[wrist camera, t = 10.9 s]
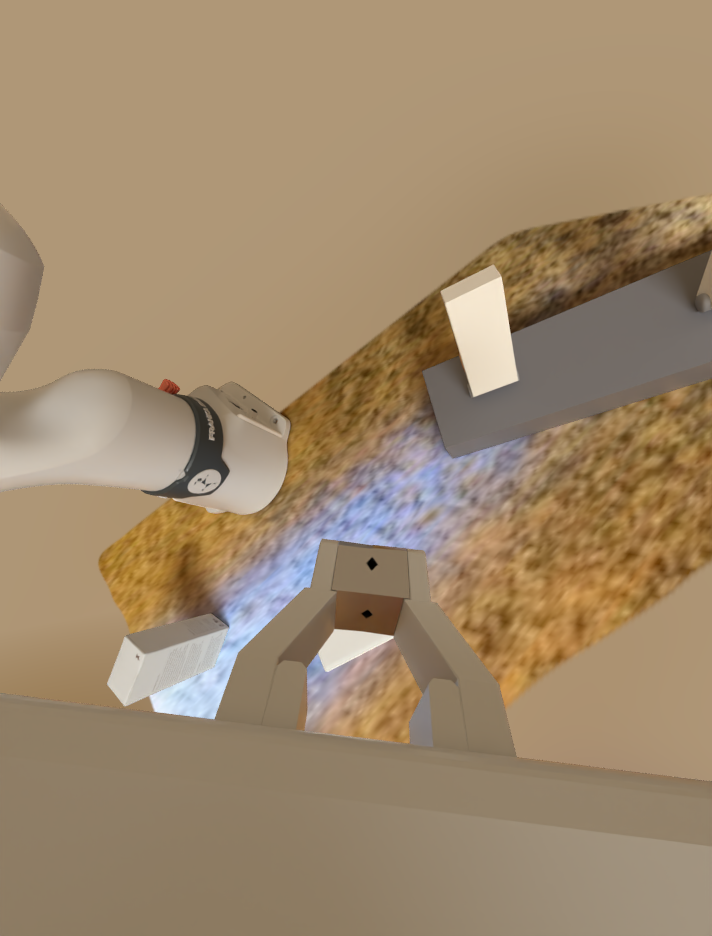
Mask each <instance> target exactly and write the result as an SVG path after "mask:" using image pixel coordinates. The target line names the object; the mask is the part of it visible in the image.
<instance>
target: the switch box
mask: <svg viewBox="0 0 712 936" xmlns="http://www.w3.org/2000/svg"><path fill="white" fill-rule="evenodd" d="M711 251H712V250H710V251H708V252H705V253H703V254H701V255H698V256H696V257H694V258H691V259H689V260H686V261H684V262H682V263H679V264H677V265H674V266H672V267H670V268H667V269H665V270H662V271H660V272H658V273H655V274H653V275H651V276H648V277H646V278H643V279H641V280H639V281H636V282H634V283H631V284H629V285H627V286H624V287H622V288H620V289H617V290H615V291H612V292H610V293H608V294H605V295H603V296H600V297H598V298H596V299H593V300H591V301H588V302H586V303H584V304H581V305H579V306H577V307H574V308H572V309H569V310H567V311H565V312H562V313H560V314H557V315H555V316H553V317H550V318H548V319H545V320H543V321H541V322H538V323H536V324H534V325H531V326H529V327H526V328H524V329H522V330H519V331H517V332H514V333H512V334H511V339H512V346H513V352H514V358H515V364H516V368H517V371H518V374H519V379H520V380H519V381H516V382H514V383H511V384H508V385H505V386H503V387H500V388H497V389H495V390H492V391H489V392H486V393H484V394H481V395H478V396H476V397H473V398H471V396H470V393H469V390H468V387H467V384H469V383H468V380H467V376H466V373H465V370H464V366H463V363H462V360H461V357H460V354H459V356H457V357H455V358H452V359H450V360H448V361H445V362H443V363H440V364H438V365H436V366H433V367H431V368H428V369H426V370H424V371H422V373H423V376H424V380H425V383H426V386H427V389H428V393H429V396H430V399H431V403H432V406H433V409H434V413H435V416H436V419H437V423H438V426H439V429H440V433H441V436H442V439H443V443H444V446H445V449H446V450H447V451H448V453H449V454H450V455H451V457H452V458H457V457H460V456H463V455H466V454H470V453H473V452H476V451H479V450H483V449H486V448H489V447H492V446H495V445H499V444H502V443H505V442H508V441H512V440H515V439H518V438H521V437H524V436H528V435H531V434H534V433H537V432H541V431H544V430H547V429H550V428H553V427H557V426H560V425H563V424H566V423H570V422H573V421H576V420H579V419H582V418H586V417H589V416H592V415H595V414H599V413H602V412H605V411H608V410H611V409H615V408H618V407H621V406H624V405H628V404H631V403H634V402H637V401H641V400H644V399H647V398H650V397H653V396H657V395H660V394H663V393H666V392H670V391H673V390H676V389H679V388H682V387H686V386H689V385H692V384H695V383H699V382H702V381H705V380H708V379H711V378H712V310H709V311H706V312H703V313H701V312H699V311H698V310H697V308H696V306H695V300H696V297H697V293H698V290H699V287H700V284H701V281H702V278H703V275H704V272H705V269H706V266H707V263H708V260H709V257H710V254H711Z"/></svg>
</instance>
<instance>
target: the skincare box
mask: <svg viewBox="0 0 712 936" xmlns="http://www.w3.org/2000/svg"><path fill="white" fill-rule="evenodd" d="M228 630H229V627H228V626H227V625H226V624H224V623H223V622H222V621H220V620H219V619H218V618H217V617H215V616H214V615H213V614H211V613H209V614H205V615H202V616H198V617H194V618H190V619H186V620H182V621H178V622H175V623H171V624H167V625H163V626H159V627H155V628H152V629H148V630H144V631H140V632H136V633H132V634H129V635H126V636H125V638H124V641H123V643H122V646H121V649H120V652H119V654H118V657H117V659H116V662H115V664H114V667H113V670H112V673H111V675H110V677H109V680H108V683H107V685H108V686H109V687H110V689H111V690H112V691H113V692H114V693H115V695H116V696H117V697H118V698H119V700H120V701H121V702H122V704H123V705H124V706H127V705H129V704H132V703H134V702H136V701H138V700H141V699H143V698H145V697H147V696H150V695H152V694H154V693H157V692H159V691H161V690H163V689H166V688H168V687H170V686H173V685H175V684H177V683H179V682H182V681H184V680H186V679H189V678H191V677H193V676H195V675H198V674H200V673H202V672H205V671H207V670H209V669H211V668H214V667H215V664H216V661H217V659H218V656H219V653H220V651H221V648H222V645H223V643H224V640H225V637H226V635H227V632H228Z"/></svg>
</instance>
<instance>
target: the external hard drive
mask: <svg viewBox="0 0 712 936" xmlns="http://www.w3.org/2000/svg"><path fill="white" fill-rule="evenodd" d="M392 638H394V636H390V635H383V634H376V633H369V632H362V631H351V630H340V629H334V632H333V633H332V634H331V636H330V637H329V638H328V640H327V641H326V642H325V644H324V645H323V646H322V648H321V649H320V650H319V652H318V655H319V657H320V660H321V662H322V665H323V667H324V669H325V671H326V672H328V671H330V670H332V669H334V668H336V667H338V666H340V665H342V664H344V663H346V662H348V661H350V660H352V659H354V658H356V657H358V656H359V655H361V654H363V653H365V652H367V651H369V650H371V649H373V648H375V647H377V646H379V645H381V644H383V643H385V642H387V641H389V640H390V639H392Z"/></svg>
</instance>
